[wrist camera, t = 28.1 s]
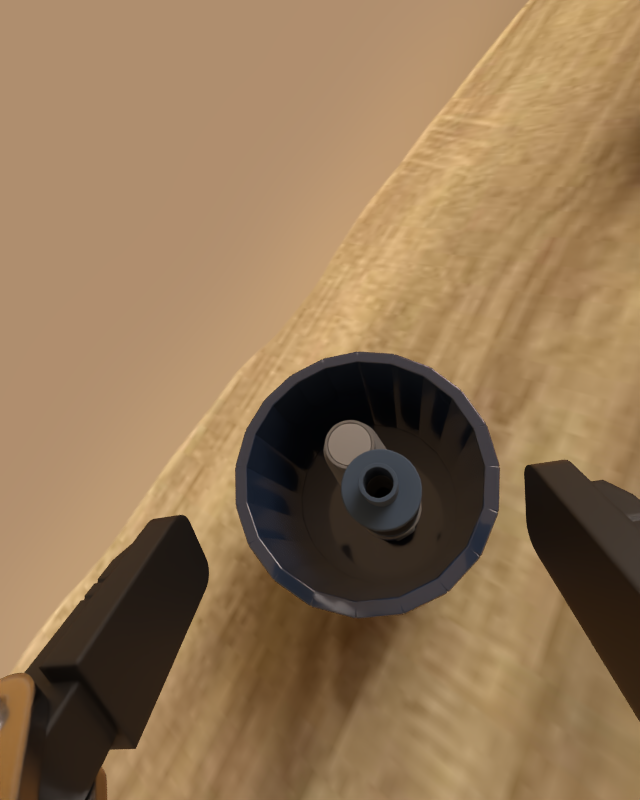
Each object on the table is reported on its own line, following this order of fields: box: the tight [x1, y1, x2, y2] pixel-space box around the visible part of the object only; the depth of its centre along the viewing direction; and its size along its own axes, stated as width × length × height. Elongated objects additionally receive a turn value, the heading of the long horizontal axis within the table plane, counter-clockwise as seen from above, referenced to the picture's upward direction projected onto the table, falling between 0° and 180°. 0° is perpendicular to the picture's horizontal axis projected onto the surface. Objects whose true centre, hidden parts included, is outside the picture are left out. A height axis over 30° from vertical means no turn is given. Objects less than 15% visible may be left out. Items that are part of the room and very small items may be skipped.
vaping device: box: [324, 420, 422, 542], centre depth 16 cm, size 3×5×12 cm, turn 29°
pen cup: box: [235, 352, 500, 619], centre depth 18 cm, size 10×10×9 cm
